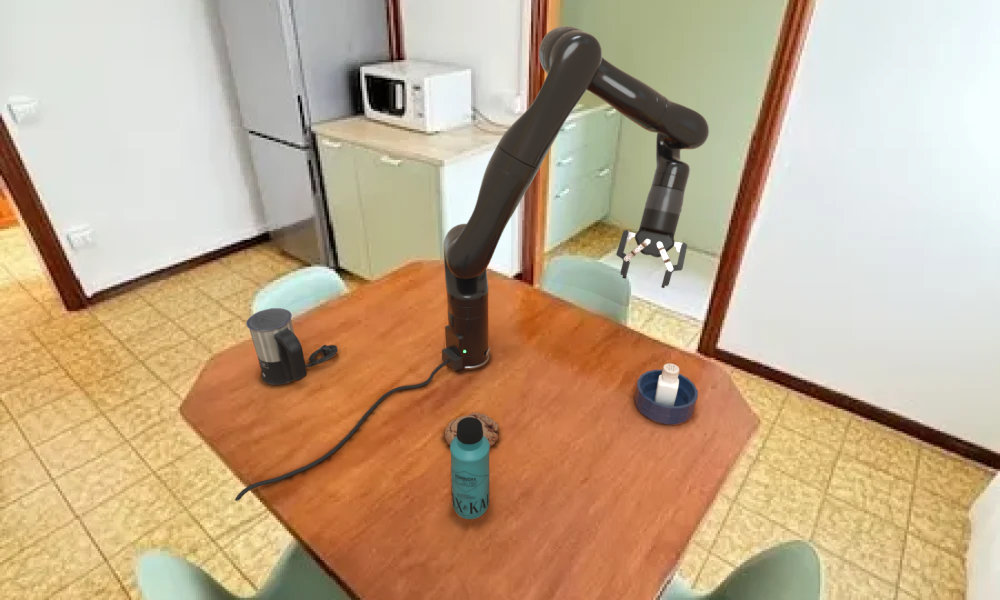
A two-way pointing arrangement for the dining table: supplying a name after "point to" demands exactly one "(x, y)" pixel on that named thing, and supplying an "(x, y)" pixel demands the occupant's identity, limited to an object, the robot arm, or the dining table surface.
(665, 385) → the salt shaker
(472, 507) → the beverage bottle
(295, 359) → the milk frother
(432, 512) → the dining table surface
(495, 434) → the cookie
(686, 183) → the robot arm
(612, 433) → the dining table surface
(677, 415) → the bowl
